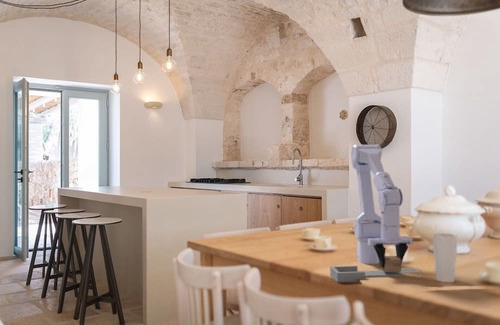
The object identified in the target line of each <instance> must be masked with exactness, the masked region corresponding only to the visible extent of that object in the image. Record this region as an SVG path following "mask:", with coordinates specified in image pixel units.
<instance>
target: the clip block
mask: <svg viewBox="0 0 500 325" xmlns="http://www.w3.org/2000/svg"><path fill="white" fill-rule="evenodd" d="M401 268H402V264H401V259H400V258H398V257H397V256H396V255H385V265H384V268H382V267H381V266H380V269H381V270H384V271H385V272H401Z"/></svg>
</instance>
